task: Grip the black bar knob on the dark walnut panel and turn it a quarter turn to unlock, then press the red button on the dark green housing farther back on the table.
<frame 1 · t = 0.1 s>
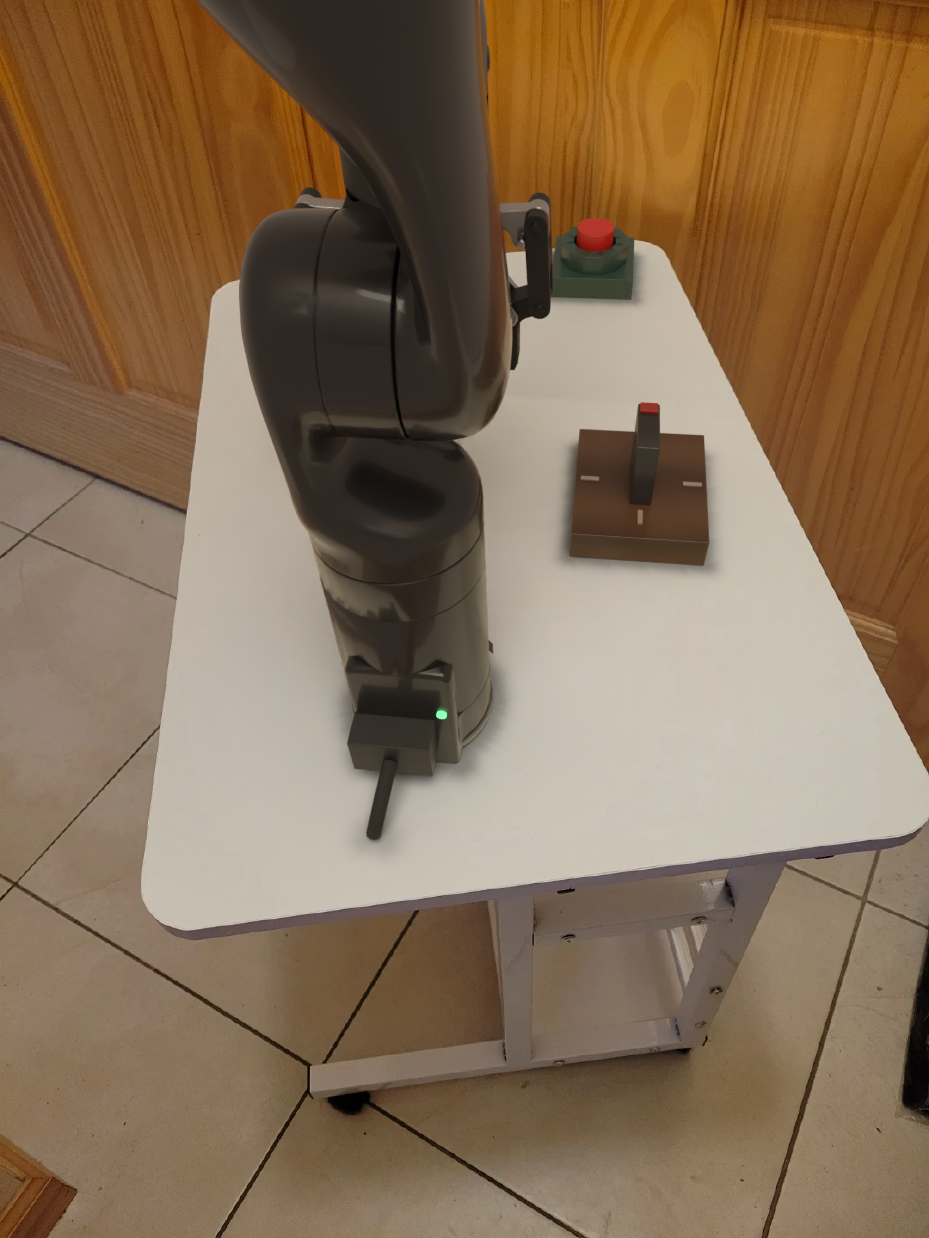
hand: (433, 367, 55), 17 cm above the table, tool pointing down, fingers open, 8 cm apart
lock knob: (644, 453, 67), point 5 cm above the table, hinge at 0.0°
button: (595, 235, 88), point 4 cm above the table, slide at 0.1 cm
button box: (592, 277, 92), on the table
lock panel: (637, 505, 71), on the table
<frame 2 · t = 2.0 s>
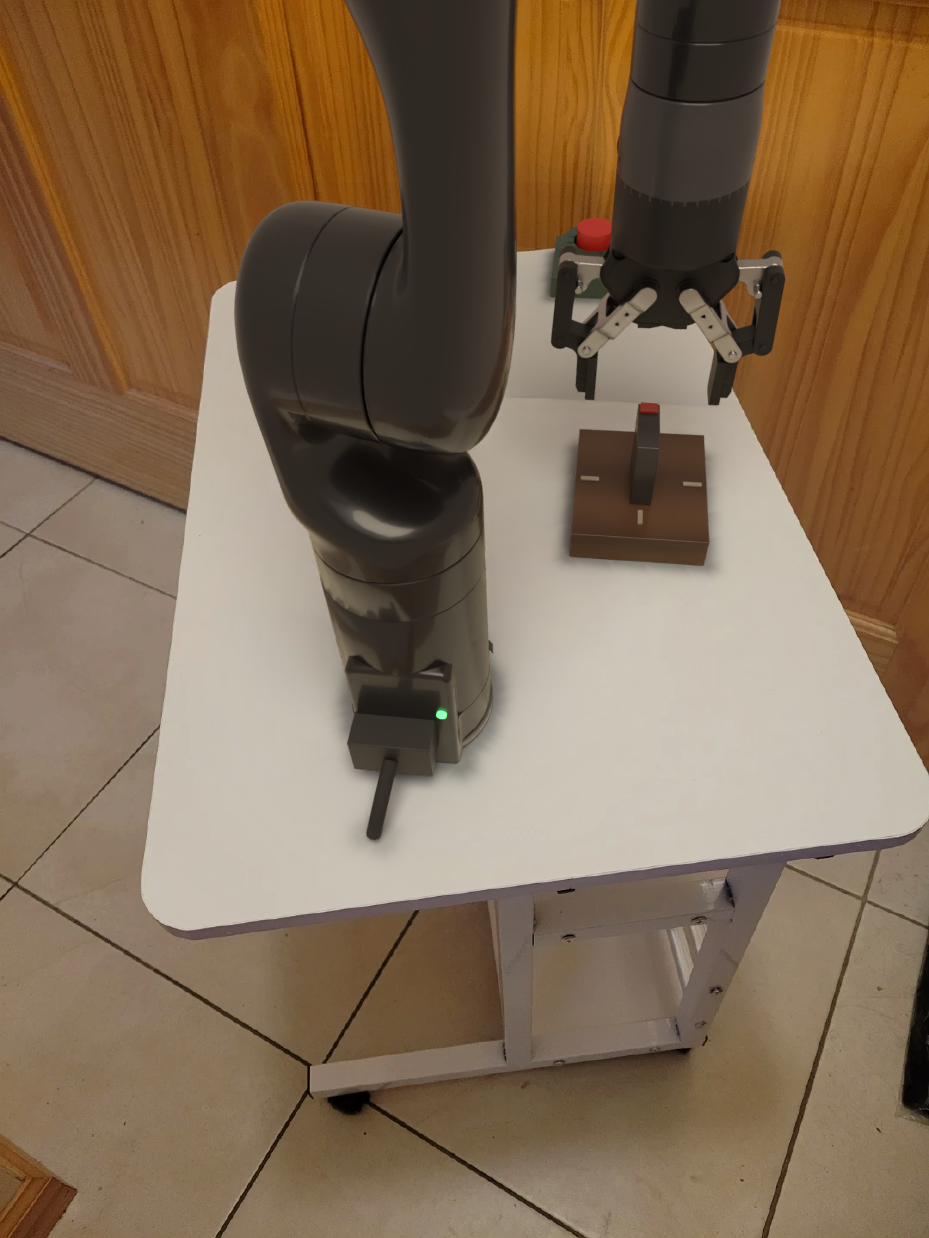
hand: (651, 395, 63), 10 cm above the table, tool pointing down, fingers open, 8 cm apart
nothing on the table moved.
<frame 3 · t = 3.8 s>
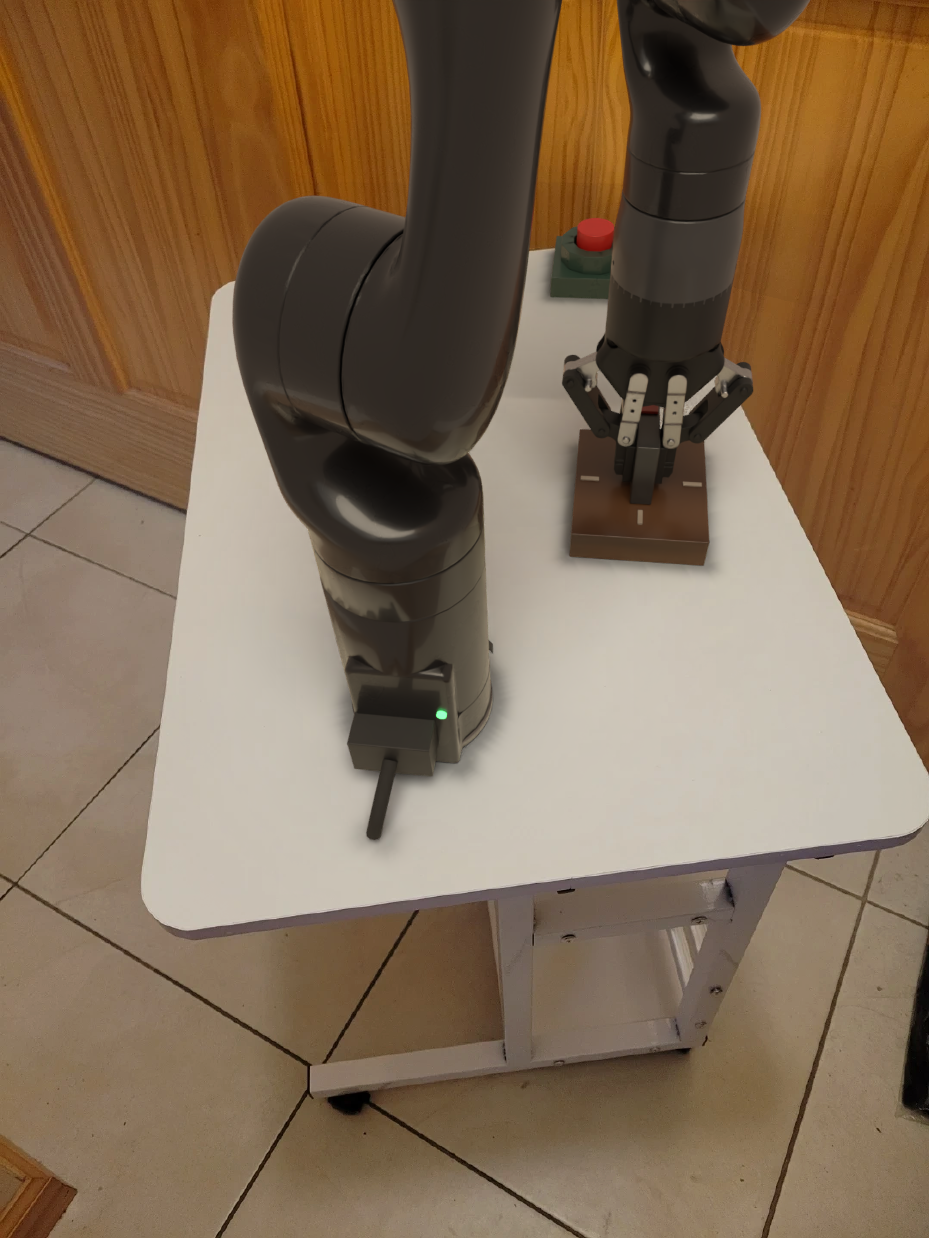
hand: (642, 474, 68), 3 cm above the table, tool pointing down, fingers closed on lock knob
lock knob: (644, 453, 67), point 5 cm above the table, hinge at 0.1°, touching gripper
everything else where it was.
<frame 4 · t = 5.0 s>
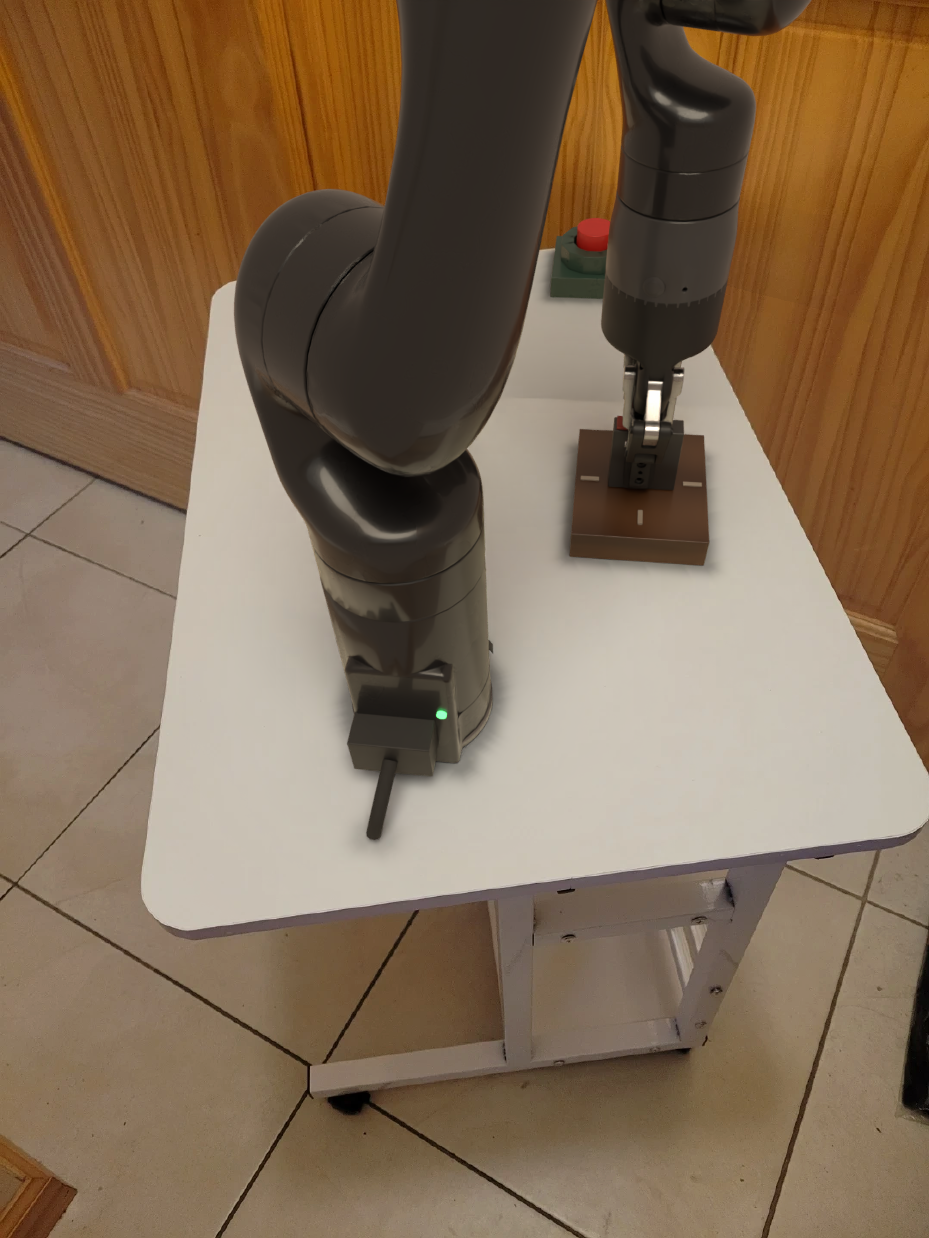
hand: (637, 474, 69), 3 cm above the table, tool pointing down, fingers closed on lock knob
lock knob: (644, 453, 67), point 5 cm above the table, hinge at 90.2°, touching gripper
everything else where it was.
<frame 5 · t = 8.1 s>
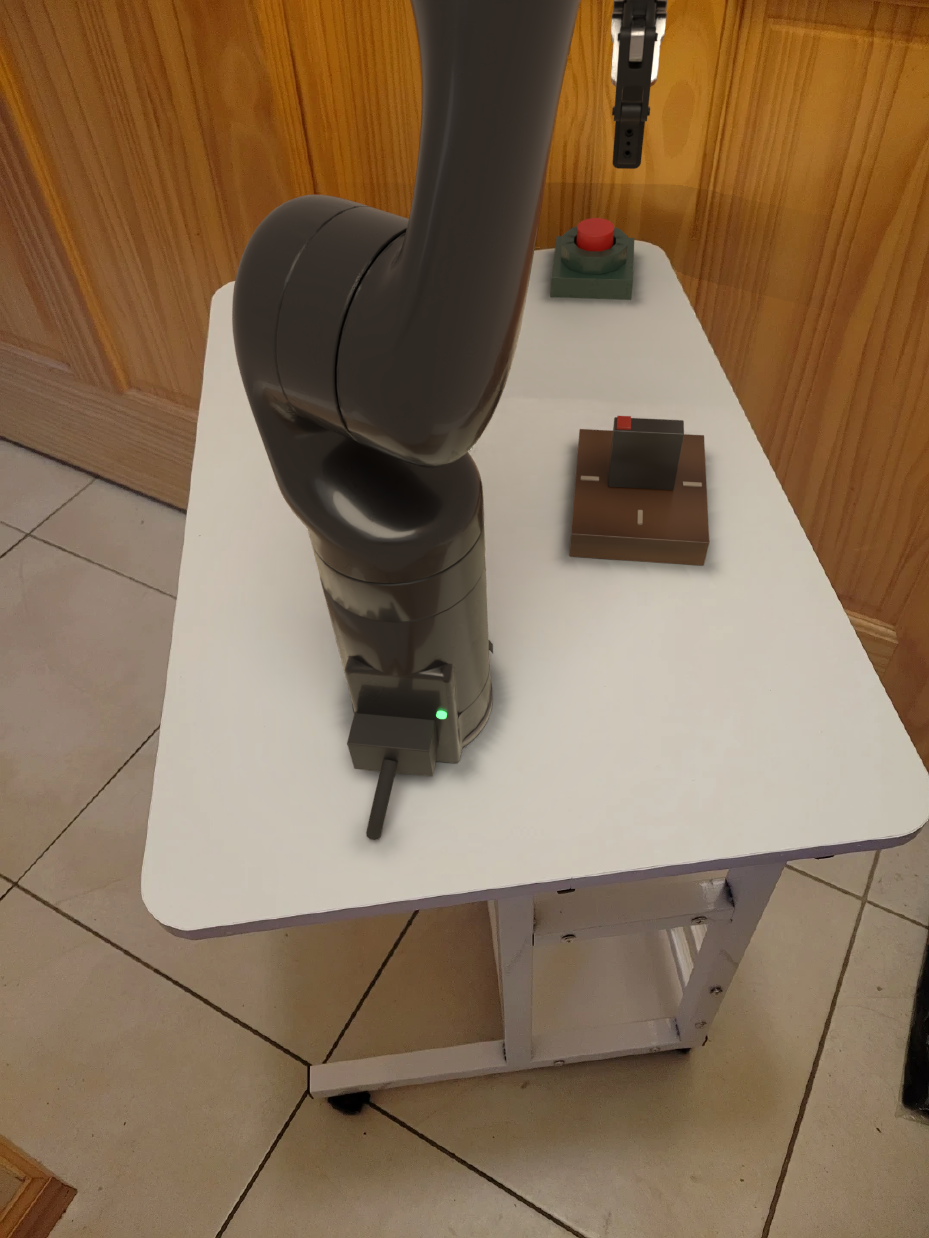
hand: (628, 141, 73), 17 cm above the table, tool pointing down, fingers open, 8 cm apart
lock knob: (644, 453, 67), point 5 cm above the table, hinge at 90.2°
everything else where it was.
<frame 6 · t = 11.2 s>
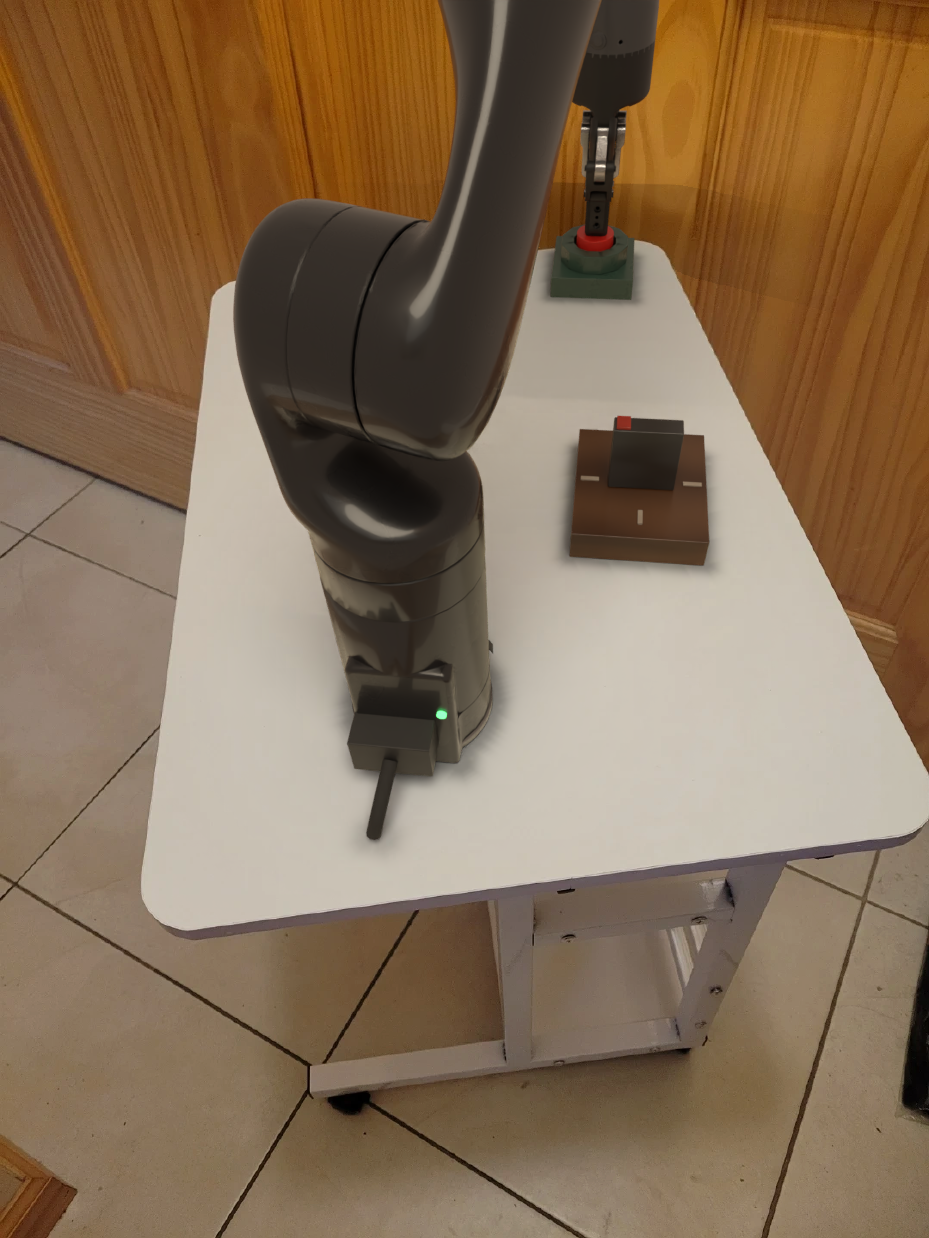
hand: (596, 232, 88), 5 cm above the table, tool pointing down, fingers closed
button: (594, 241, 89), point 4 cm above the table, slide at -0.5 cm, touching gripper
everything else where it was.
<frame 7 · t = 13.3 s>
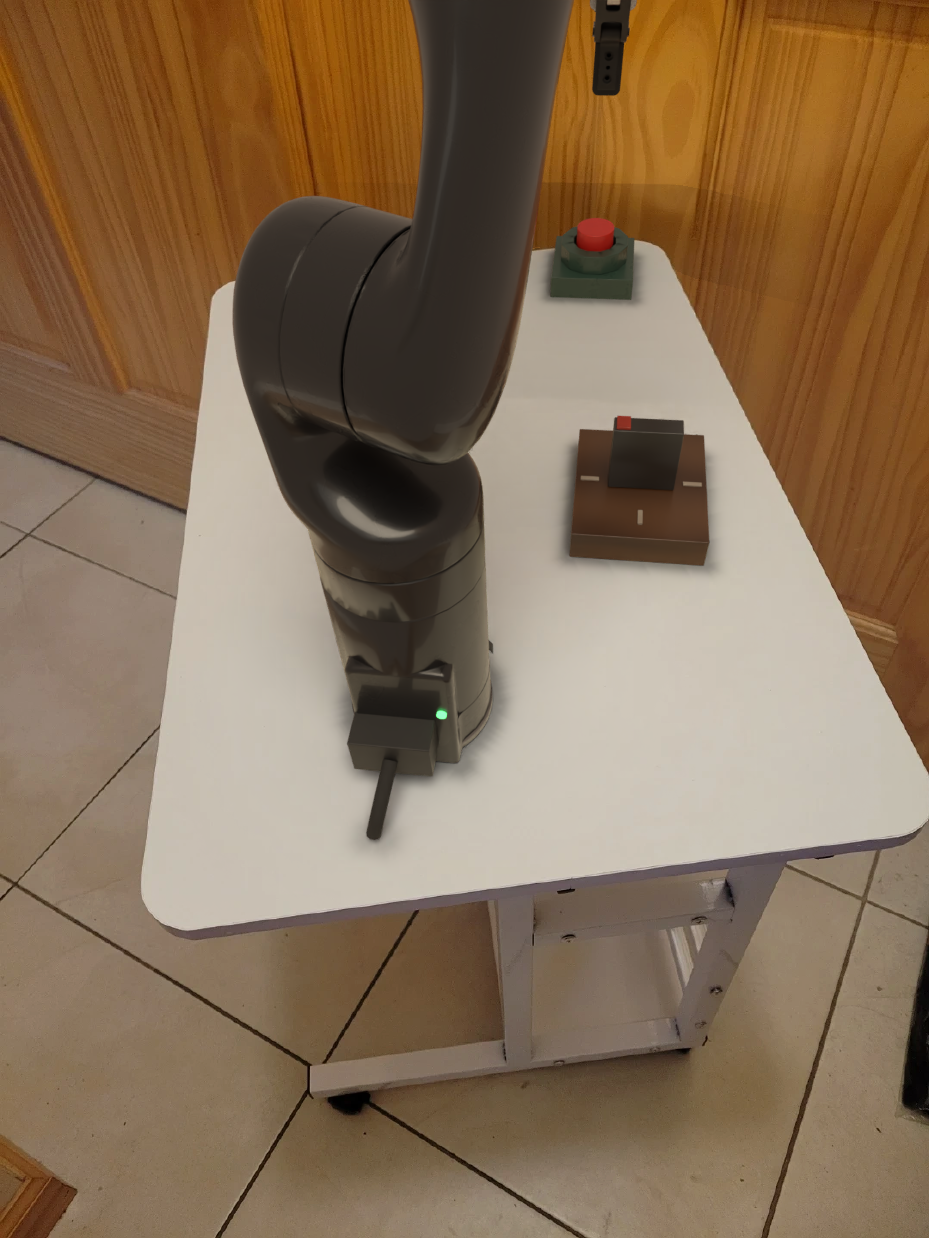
hand: (605, 91, 72), 20 cm above the table, tool pointing down, fingers closed
button: (595, 235, 88), point 4 cm above the table, slide at 0.1 cm
everything else where it was.
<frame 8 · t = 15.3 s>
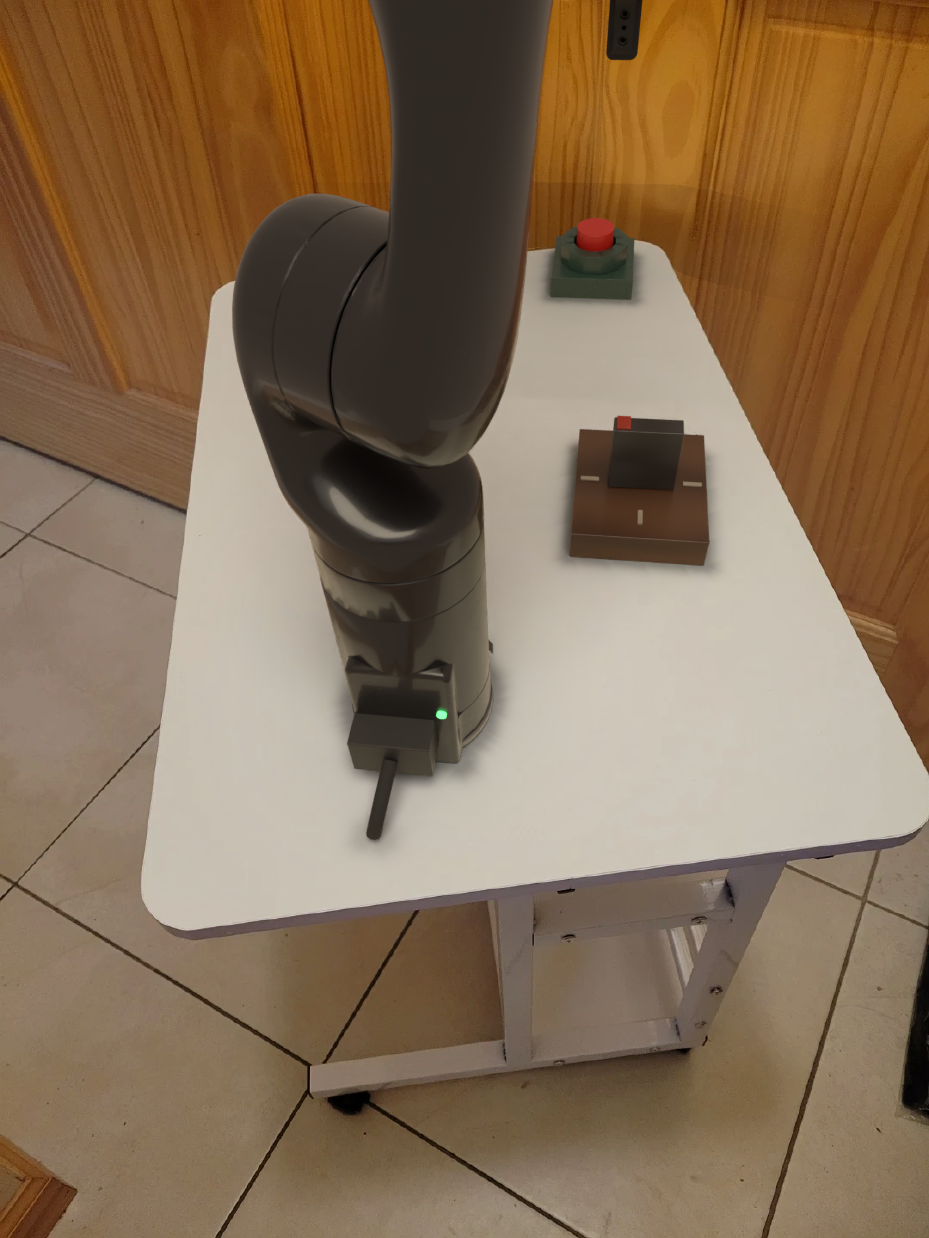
hand: (621, 55, 64), 25 cm above the table, tool pointing down, fingers closed
nothing on the table moved.
at the end: lock knob at +90° (first picture: +0°); button pushed in 1.0 cm at the most during the clip, back to where it started at the end; button slide at 0.1 cm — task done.
